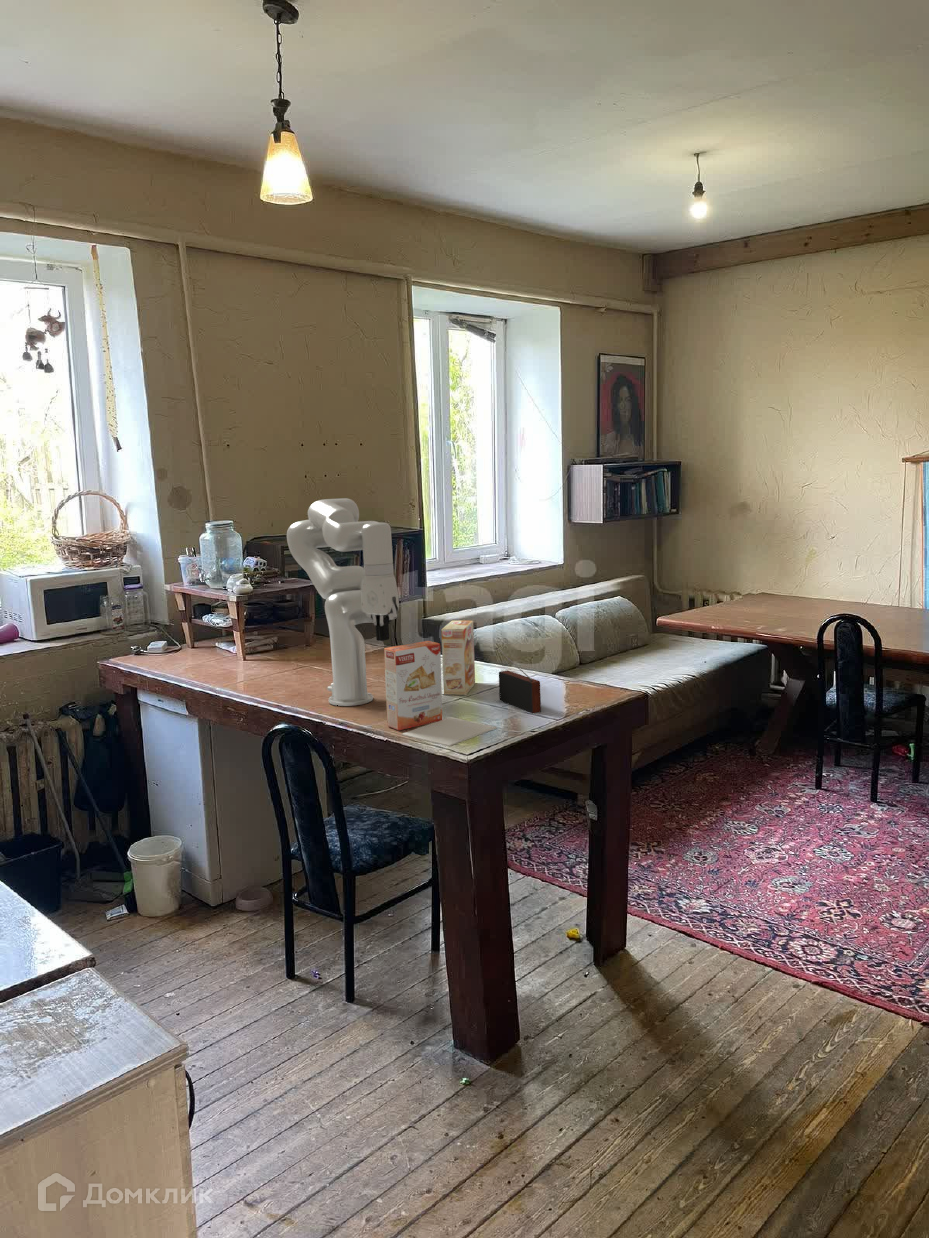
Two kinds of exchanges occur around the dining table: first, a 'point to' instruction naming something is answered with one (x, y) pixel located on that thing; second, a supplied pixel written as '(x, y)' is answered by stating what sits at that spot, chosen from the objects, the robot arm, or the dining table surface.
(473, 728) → the mat
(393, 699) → the cracker box
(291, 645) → the dining table surface
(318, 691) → the dining table surface
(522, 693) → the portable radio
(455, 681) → the coffeecake box
